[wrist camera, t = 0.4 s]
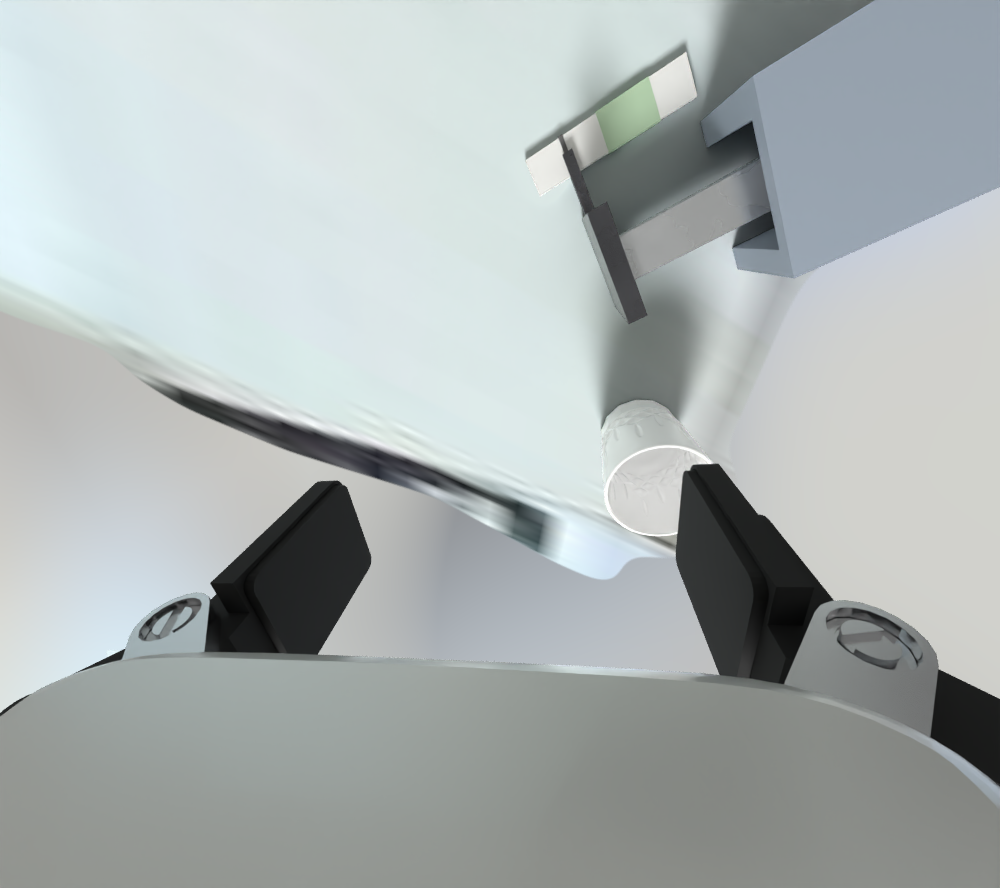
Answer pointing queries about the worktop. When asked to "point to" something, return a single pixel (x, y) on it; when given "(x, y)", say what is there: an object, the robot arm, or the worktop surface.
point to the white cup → (646, 466)
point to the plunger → (666, 229)
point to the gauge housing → (839, 128)
